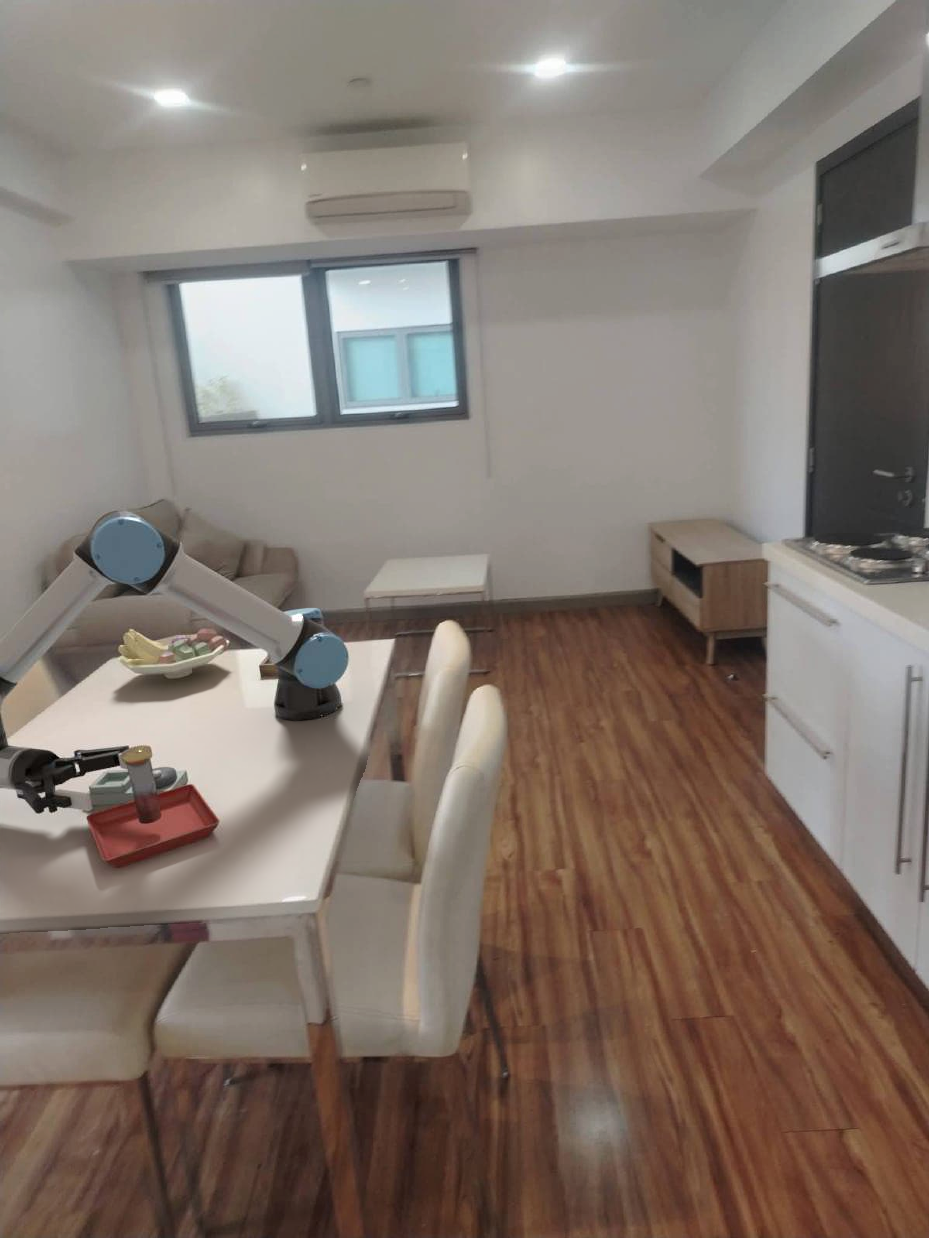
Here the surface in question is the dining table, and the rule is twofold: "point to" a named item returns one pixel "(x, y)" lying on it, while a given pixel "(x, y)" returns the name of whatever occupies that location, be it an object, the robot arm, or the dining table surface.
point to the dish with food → (170, 652)
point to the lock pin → (142, 783)
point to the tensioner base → (118, 787)
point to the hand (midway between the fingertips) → (121, 782)
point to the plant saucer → (152, 827)
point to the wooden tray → (267, 668)
